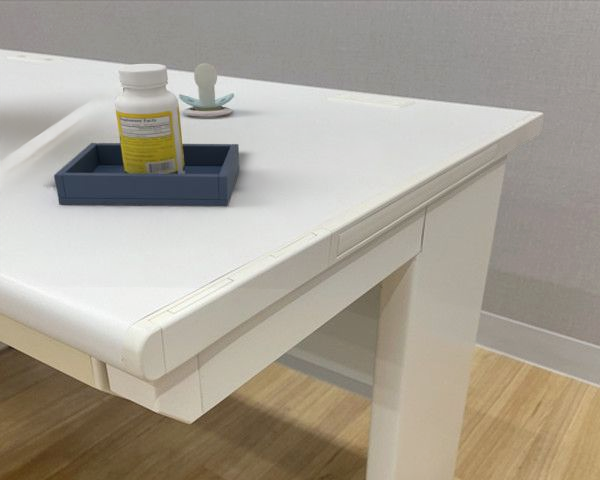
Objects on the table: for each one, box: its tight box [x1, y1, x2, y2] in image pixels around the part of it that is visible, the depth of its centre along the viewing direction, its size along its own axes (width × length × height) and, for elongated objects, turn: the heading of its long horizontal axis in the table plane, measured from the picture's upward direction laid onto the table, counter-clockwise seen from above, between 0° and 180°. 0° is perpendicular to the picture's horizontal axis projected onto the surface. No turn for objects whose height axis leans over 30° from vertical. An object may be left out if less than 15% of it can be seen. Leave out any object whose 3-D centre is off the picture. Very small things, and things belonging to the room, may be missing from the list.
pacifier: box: [178, 62, 235, 117], centre depth 84 cm, size 7×6×6 cm
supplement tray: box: [53, 142, 240, 207], centre depth 58 cm, size 14×10×3 cm
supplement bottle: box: [114, 63, 185, 174], centre depth 56 cm, size 5×5×10 cm
